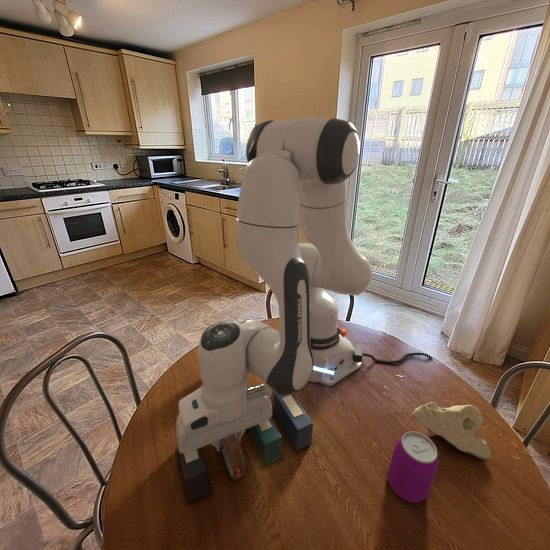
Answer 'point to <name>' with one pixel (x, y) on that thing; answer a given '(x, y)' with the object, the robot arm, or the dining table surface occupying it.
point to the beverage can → (413, 466)
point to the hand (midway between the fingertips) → (228, 444)
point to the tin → (233, 457)
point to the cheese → (454, 426)
